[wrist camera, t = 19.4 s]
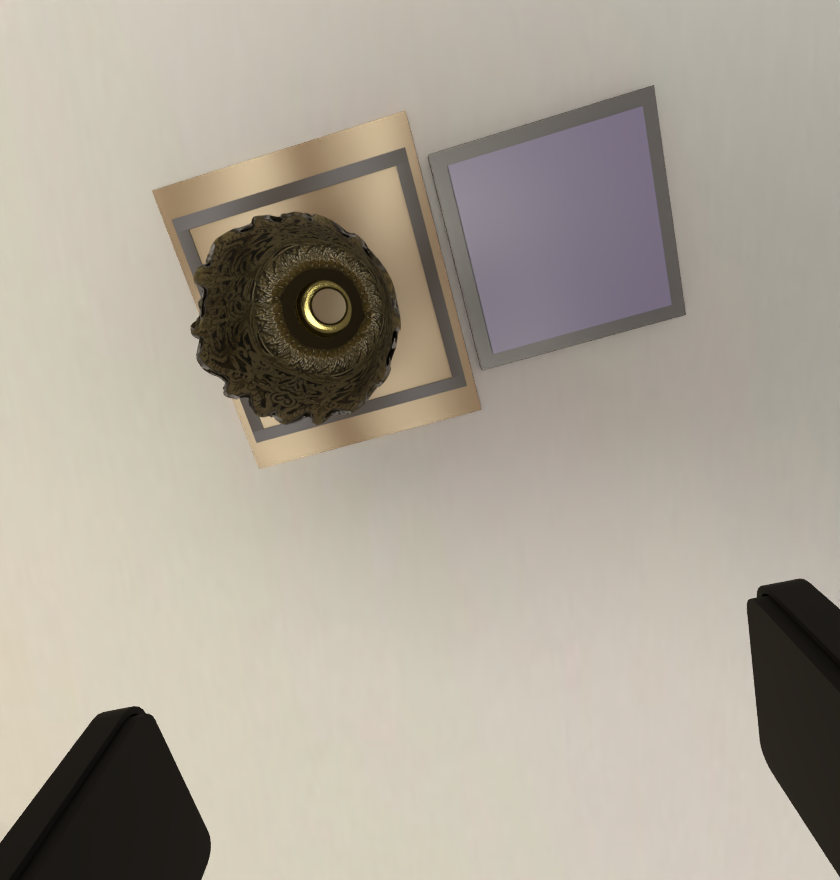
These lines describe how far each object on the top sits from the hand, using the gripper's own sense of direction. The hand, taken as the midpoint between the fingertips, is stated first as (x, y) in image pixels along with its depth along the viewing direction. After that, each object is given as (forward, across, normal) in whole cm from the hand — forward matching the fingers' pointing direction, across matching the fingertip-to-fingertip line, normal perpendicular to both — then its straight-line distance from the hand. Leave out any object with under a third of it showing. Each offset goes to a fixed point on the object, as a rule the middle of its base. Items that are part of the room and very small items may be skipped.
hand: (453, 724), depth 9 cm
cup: (+21, +4, -6) cm, 23 cm away
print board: (+22, +4, -6) cm, 23 cm away
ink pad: (+22, -7, -6) cm, 24 cm away
